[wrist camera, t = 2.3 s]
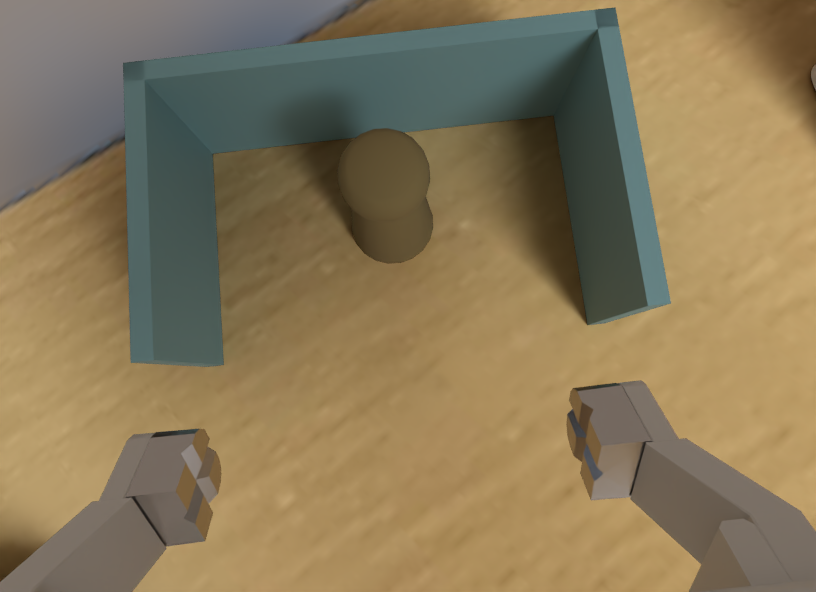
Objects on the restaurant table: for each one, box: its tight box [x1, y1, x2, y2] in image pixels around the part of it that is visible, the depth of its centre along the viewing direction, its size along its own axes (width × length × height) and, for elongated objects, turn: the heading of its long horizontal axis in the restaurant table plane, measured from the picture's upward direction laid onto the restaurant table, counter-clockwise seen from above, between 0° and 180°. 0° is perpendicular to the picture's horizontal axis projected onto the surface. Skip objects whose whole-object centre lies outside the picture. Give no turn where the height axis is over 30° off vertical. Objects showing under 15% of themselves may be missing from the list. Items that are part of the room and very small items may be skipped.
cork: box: [338, 128, 433, 263], centre depth 33 cm, size 6×6×11 cm
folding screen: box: [123, 8, 671, 367], centre depth 34 cm, size 17×28×10 cm, turn 96°
